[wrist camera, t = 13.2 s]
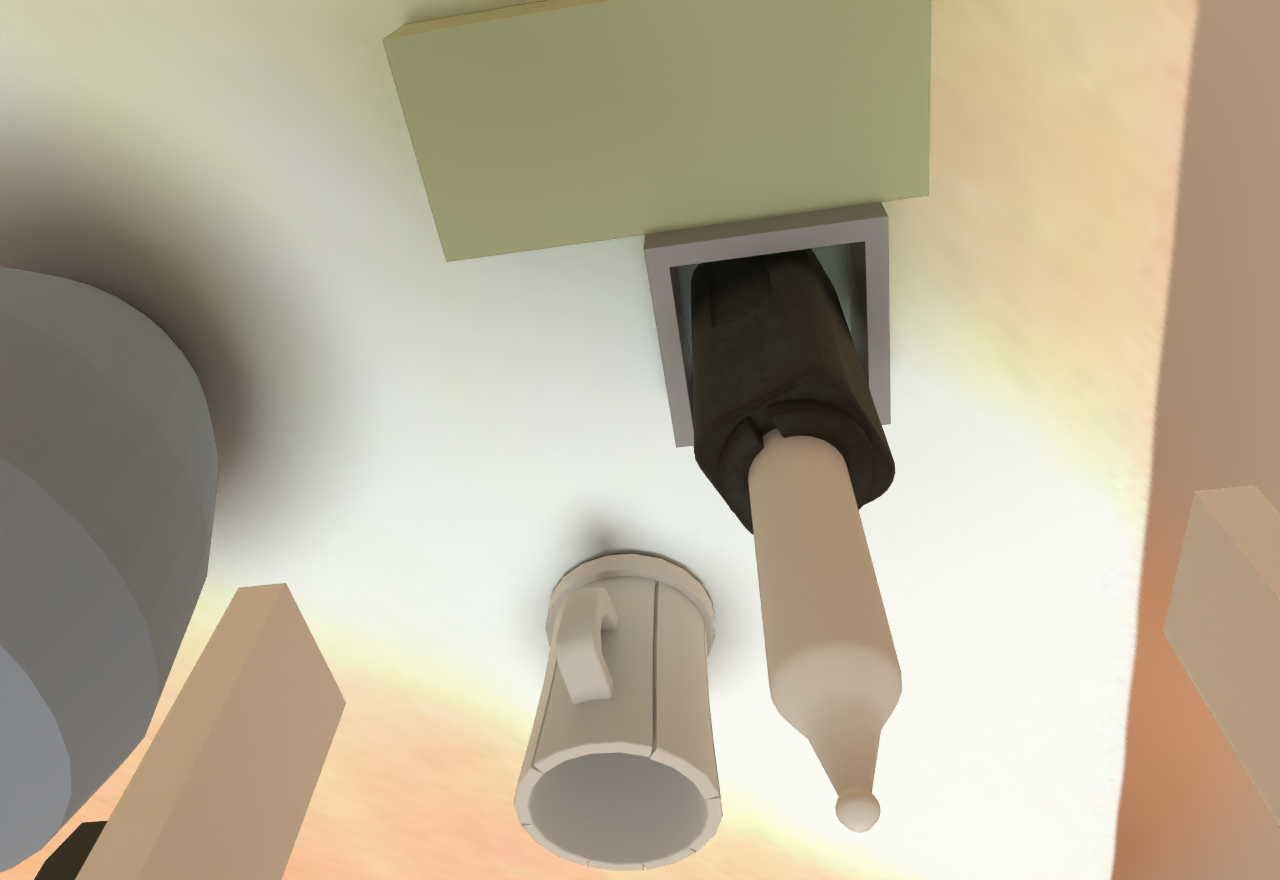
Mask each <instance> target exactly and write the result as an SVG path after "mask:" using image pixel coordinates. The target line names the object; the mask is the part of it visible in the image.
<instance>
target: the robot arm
mask: <svg viewBox="0 0 1280 880" xmlns="http://www.w3.org/2000/svg"><path fill="white" fill-rule="evenodd" d="M1163 634H1164V636H1165V638H1166V639H1167V641H1168V643H1169V644H1170V646H1171V648H1172V649H1173V651H1174V653H1175V654H1176V656H1177V658H1178V659H1179V661H1180V662H1181V664H1182V666H1183V668H1184V669H1185V671H1186V672H1187V674H1188V676H1189V678H1190V679H1191V681H1192V683H1193V684H1194V686H1195V687H1196V689H1197V691H1198V693H1199V694H1200V696H1201V698H1202V699H1203V701H1204V703H1205V704H1206V706H1207V708H1208V709H1209V711H1210V712H1211V714H1212V716H1213V717H1214V719H1215V721H1216V723H1217V724H1218V726H1219V728H1220V729H1221V731H1222V733H1223V734H1224V736H1225V737H1226V739H1227V741H1228V742H1229V744H1230V746H1231V747H1232V749H1233V751H1234V752H1235V754H1236V756H1237V757H1238V759H1239V761H1240V762H1241V764H1242V766H1243V767H1244V769H1245V771H1246V772H1247V774H1248V776H1249V777H1250V779H1251V781H1252V782H1253V784H1254V786H1255V787H1256V789H1257V791H1258V792H1259V794H1260V796H1261V797H1262V799H1263V801H1264V802H1265V804H1266V806H1267V807H1268V809H1269V811H1270V812H1271V814H1272V816H1273V817H1274V819H1275V821H1276V822H1277V824H1278V826H1279V827H1280V514H1279V513H1278V511H1277V510H1276V509H1275V508H1274V507H1273V506H1272V504H1271V503H1270V502H1269V501H1268V500H1267V499H1266V497H1265V496H1264V495H1263V494H1262V493H1261V492H1260V491H1259V489H1258V488H1257V487H1256V486H1255V485H1253V486H1244V487H1234V488H1224V489H1215V490H1204V491H1196V492H1195V495H1194V499H1193V504H1192V508H1191V512H1190V517H1189V521H1188V526H1187V530H1186V534H1185V539H1184V543H1183V547H1182V552H1181V556H1180V560H1179V566H1178V569H1177V574H1176V578H1175V582H1174V587H1173V591H1172V596H1171V600H1170V605H1169V609H1168V614H1167V618H1166V622H1165V626H1164V631H1163ZM345 704H346V702H345V700H344V698H343V696H342V694H341V692H340V690H339V688H338V686H337V684H336V682H335V680H334V678H333V676H332V674H331V672H330V670H329V668H328V666H327V664H326V662H325V660H324V658H323V656H322V654H321V652H320V650H319V648H318V646H317V644H316V642H315V640H314V638H313V636H312V634H311V632H310V630H309V628H308V626H307V624H306V622H305V620H304V618H303V616H302V614H301V612H300V610H299V608H298V606H297V604H296V602H295V600H294V598H293V596H292V594H291V592H290V590H289V588H288V586H287V584H286V583H282V584H272V585H262V586H252V587H242V588H238V590H237V592H236V593H235V595H234V597H233V599H232V601H231V602H230V604H229V606H228V608H227V609H226V611H225V613H224V615H223V617H222V618H221V620H220V622H219V624H218V625H217V627H216V629H215V631H214V633H213V634H212V636H211V638H210V640H209V642H208V643H207V645H206V647H205V649H204V650H203V652H202V654H201V656H200V658H199V659H198V661H197V663H196V665H195V667H194V668H193V670H192V672H191V674H190V675H189V677H188V679H187V681H186V683H185V684H184V686H183V688H182V690H181V692H180V693H179V695H178V697H177V699H176V700H175V702H174V704H173V706H172V708H171V709H170V711H169V713H168V715H167V716H166V718H165V720H164V722H163V724H162V725H161V727H160V729H159V731H158V733H157V734H156V736H155V738H154V740H153V741H152V743H151V745H150V747H149V749H148V750H147V752H146V754H145V756H144V758H143V759H142V761H141V763H140V765H139V766H138V768H137V770H136V772H135V774H134V775H133V777H132V779H131V781H130V782H129V784H128V786H127V788H126V790H125V791H124V793H123V795H122V797H121V799H120V800H119V802H118V804H117V806H116V807H115V809H114V811H113V813H112V815H111V816H110V818H109V820H108V821H99V822H85V823H82V824H81V825H80V826H79V827H78V828H77V829H76V830H75V831H74V832H73V833H72V834H71V835H70V836H69V837H68V838H67V839H66V840H65V841H64V842H63V843H62V844H61V845H60V846H59V847H58V848H57V849H56V851H55V852H54V853H53V854H52V855H51V856H50V857H49V858H48V859H47V860H46V861H45V862H44V864H43V866H42V867H41V869H40V871H39V872H38V874H37V876H36V877H35V879H34V880H281V879H282V876H283V873H284V871H285V868H286V865H287V863H288V860H289V857H290V854H291V852H292V849H293V846H294V843H295V841H296V838H297V835H298V833H299V830H300V827H301V824H302V822H303V819H304V816H305V813H306V811H307V808H308V805H309V803H310V800H311V797H312V794H313V792H314V789H315V786H316V783H317V781H318V778H319V775H320V773H321V770H322V767H323V764H324V762H325V759H326V756H327V753H328V751H329V748H330V745H331V743H332V740H333V737H334V734H335V732H336V729H337V726H338V723H339V721H340V718H341V715H342V713H343V710H344V707H345Z"/></svg>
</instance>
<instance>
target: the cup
mask: <svg viewBox="0 0 1280 880" xmlns="http://www.w3.org/2000/svg"><path fill="white" fill-rule="evenodd" d="M546 632H547V636H548V640H549V644H550V647H551V648H550V654H549V659H548V664H547V669H546V674H545V680H544V684H543V688H542V692H541V696H540V700H539V705H538V709H537V713H536V717H535V721H534V725H533V729H532V732H531V736H530V740H529V743H528V747H527V751H526V754H525V758H524V762H523V765H522V769H521V773H520V776H519V780H518V784H517V789H516V794H515V799H514V806H515V809H516V812H517V816H518V819H519V822H520V823H521V825H522V826H523V827H524V829H525V830H526V831H527V832H528V833H529V835H530V836H531V837H532V838H533V839H534V840H535V842H536V843H538V844H540V845H541V846H543V847H544V848H546V849H547V850H549V851H550V852H552V853H554V854H555V855H557V856H558V857H561V858H564V859H567V860H569V861H572V862H575V863H578V864H581V865H583V866H584V865H585V864H586V863H587V862H588V865H587V866H588V867H594V868H600V869H607V870H614V871H625V870H644V866H645V867H646V868H647V869H651V868H656V867H660V866H664V865H669V864H673V863H675V862H677V861H679V860H681V859H683V858H686V857H688V856H690V855H692V854H694V853H696V850H697V851H698V850H699V849H701V848H702V847H703V846H704V845H705V844H706V843H707V842H708V841H709V840H710V839H711V838H712V837H713V836H714V835H715V833H716V831H717V828H718V826H719V823H720V821H721V818H722V816H723V813H722V804H721V796H720V788H719V781H718V773H717V766H716V758H715V750H714V742H713V733H712V724H711V714H710V704H709V686H708V669H707V657H708V655H709V652H710V650H711V647H712V644H713V641H714V638H715V634H714V617H713V607H712V602H711V600H710V598H709V597H708V595H707V593H706V591H705V589H704V588H703V586H702V584H701V583H699V582H698V581H697V580H696V579H695V578H694V577H693V576H691V575H690V574H689V573H688V572H687V571H686V570H685V569H683V568H680V567H678V566H676V565H674V564H672V563H670V562H667V561H665V560H663V559H661V558H655V557H650V556H644V555H639V554H621V555H607V556H604V557H601V558H598V559H595V560H592V561H589V562H586V563H583V564H581V565H580V566H578V567H577V568H575V569H574V570H573V571H571V572H570V573H568V574H567V575H566V576H564V577H563V578H562V580H561V581H560V583H559V584H558V586H557V587H556V589H555V590H554V592H553V593H552V595H551V601H550V606H549V611H548V616H547V622H546Z"/></svg>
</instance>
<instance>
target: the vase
mask: <svg viewBox="0 0 1280 880" xmlns="http://www.w3.org/2000/svg"><path fill="white" fill-rule="evenodd" d="M218 467H219V458H218V453H217V447H216V441H215V436H214V431H213V426H212V422H211V418H210V413H209V409H208V405H207V400H206V396H205V394H204V391H203V389H202V386H201V384H200V381H199V379H198V376H197V374H196V372H195V371H194V369H193V368H192V366H191V365H190V363H189V361H188V360H187V358H186V357H185V355H184V353H183V352H182V351H181V350H180V349H179V348H178V346H177V345H176V344H175V343H174V342H173V341H172V340H171V338H170V337H169V336H168V335H167V334H166V333H165V332H164V331H163V330H162V329H161V328H160V327H159V326H158V325H157V324H155V323H154V322H153V321H152V320H151V319H150V318H148V317H147V316H146V315H145V314H143V313H142V312H140V311H139V310H137V309H135V308H134V307H132V306H131V305H129V304H128V303H126V302H124V301H123V300H121V299H120V298H118V297H116V296H114V295H112V294H109V293H107V292H105V291H103V290H100V289H98V288H96V287H94V286H92V285H89V284H85V283H82V282H78V281H75V280H71V279H68V278H64V277H59V276H54V275H48V274H43V273H37V272H32V271H26V270H21V269H15V268H8V267H0V872H3V871H6V870H8V869H11V868H13V867H14V866H16V865H18V864H19V863H21V862H22V861H24V860H25V859H27V858H28V857H30V856H32V855H33V854H35V853H36V852H38V851H39V850H41V849H42V848H43V847H44V846H45V845H46V844H47V843H48V842H49V841H50V840H51V838H52V837H53V836H54V835H55V834H56V833H57V832H58V831H59V830H60V829H61V828H62V827H63V826H64V825H65V824H66V823H67V822H68V820H69V819H70V818H71V817H72V816H73V815H74V814H75V813H76V812H77V811H78V810H79V809H80V808H81V807H82V806H83V805H84V804H85V803H86V801H87V800H88V799H89V798H90V797H91V796H92V795H93V794H94V793H95V792H96V791H97V790H98V789H99V788H100V787H101V786H102V785H103V783H104V782H105V781H106V780H107V779H108V778H109V777H110V776H111V775H112V774H113V773H114V772H115V771H116V770H117V769H118V768H119V767H120V765H121V764H122V763H123V762H124V761H125V760H126V759H127V757H128V756H129V755H130V754H131V753H132V751H133V750H134V749H135V748H136V747H137V745H138V744H139V743H140V742H141V740H142V739H143V738H144V737H145V734H146V732H147V729H148V727H149V724H150V722H151V719H152V716H153V714H154V711H155V709H156V706H157V704H158V701H159V699H160V696H161V693H162V691H163V688H164V686H165V683H166V681H167V678H168V675H169V673H170V670H171V668H172V665H173V663H174V660H175V658H176V655H177V652H178V650H179V647H180V645H181V642H182V640H183V637H184V634H185V632H186V629H187V627H188V624H189V622H190V619H191V617H192V614H193V611H194V609H195V606H196V604H197V601H198V598H199V596H200V593H201V590H202V588H203V585H204V582H205V580H206V577H207V571H208V562H209V553H210V544H211V536H212V527H213V518H214V510H215V501H216V492H217V481H218Z"/></svg>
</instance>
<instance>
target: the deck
mask: <svg viewBox="0 0 1280 880" xmlns="http://www.w3.org/2000/svg"><path fill="white" fill-rule="evenodd" d="M930 37H931V0H545V1H539V2H533V3H527V4H521V5H515V6H510V7H504V8H498V9H492V10H486V11H480V12H474V13H469V14H463V15H457V16H451V17H445V18H439V19H433V20H427V21H422V22H416V23H410V24H405V25H403V26H402V27H400V28H399V29H397V30H396V31H394V32H393V33H391V34H389V35H388V36H386V37H385V38H383V43H384V46H385V50H386V53H387V57H388V60H389V64H390V67H391V71H392V74H393V78H394V81H395V85H396V88H397V92H398V95H399V99H400V102H401V105H402V109H403V112H404V116H405V119H406V123H407V126H408V130H409V133H410V137H411V140H412V144H413V147H414V151H415V154H416V158H417V161H418V165H419V168H420V172H421V175H422V178H423V182H424V185H425V189H426V192H427V196H428V199H429V203H430V206H431V210H432V213H433V217H434V220H435V224H436V227H437V231H438V234H439V238H440V241H441V244H442V248H443V251H444V255H445V258H446V262H449V261H456V260H464V259H471V258H478V257H485V256H493V255H500V254H507V253H514V252H522V251H529V250H536V249H543V248H551V247H558V246H565V245H572V244H580V243H587V242H594V241H601V240H609V239H616V238H623V237H630V236H638V235H645V244H644V253H645V259H646V265H647V271H648V277H649V283H650V290H651V296H652V302H653V308H654V314H655V320H656V326H657V332H658V339H659V345H660V351H661V357H662V363H663V369H664V375H665V381H666V388H667V394H668V400H669V406H670V412H671V418H672V424H673V430H674V437H675V443H676V447H685V446H694V423H693V375H692V369H691V362H690V355H689V348H688V342H687V335H686V328H685V321H684V314H683V307H682V300H681V293H680V286H679V279H678V272H677V266H682V265H690V264H697V263H705V262H712V261H720V260H727V259H735V258H742V257H750V256H757V255H765V254H772V253H780V252H787V251H795V250H802V249H810V248H817V247H825V246H832V245H840V244H847V243H848V259H849V287H850V314H851V337H852V340H853V343H854V346H855V349H856V352H857V355H858V358H859V361H860V364H861V367H862V369H863V372H864V375H865V378H866V381H867V384H868V387H869V390H870V393H871V396H872V399H873V402H874V405H875V407H876V410H877V413H878V416H879V419H880V422H881V425H886V424H891V417H890V332H889V247H888V215H887V213H886V211H885V210H884V208H883V206H882V204H881V202H884V201H892V200H899V199H906V198H913V197H921V196H928V195H929V116H930Z"/></svg>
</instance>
